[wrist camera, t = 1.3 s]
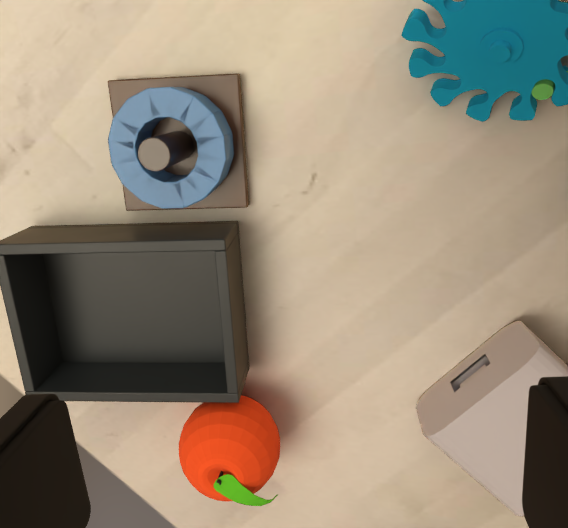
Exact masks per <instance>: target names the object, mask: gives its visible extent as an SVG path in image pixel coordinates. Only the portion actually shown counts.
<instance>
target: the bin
mask: <svg viewBox="0 0 568 528" xmlns="http://www.w3.org/2000/svg"><path fill="white" fill-rule="evenodd" d="M0 286H1V290H2V294H3V299H4V303H5V307H6V312H7V316H8V320H9V324H10V329H11V333H12V337H13V342H14V346H15V350H16V355H17V359H18V363H19V367H20V372H21V376H22V380H23V385H24V389H25V391H26V392H25V394H26V395H29V394H55V395H57V397H58V398H59V400H62V401H122V402H219V403H239V400H240V397H241V394H242V390H243V387H244V384H245V380H246V377H247V374H248V370H249V356H248V343H247V329H246V316H245V303H244V290H243V277H242V264H241V250H240V237H239V224H238V221H226V222H186V223H145V224H105V225H64V226H31V227H29V228H27V229H25V230H23V231H20V232H18V233H16V234H14V235H11V236H9V237H7V238H5V239H3V240H0Z"/></svg>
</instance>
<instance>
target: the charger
mask: <svg viewBox="0 0 568 528" xmlns="http://www.w3.org/2000/svg"><path fill="white" fill-rule="evenodd" d="M564 376H568V365H567V364H566V363H565V362H563V361H562V360H561V359H560V358H559V357H558V356H557V355H556V354H555V353H554V352H553V351H552V350H551V349H550V348H549V347H548V346H547V345H546V344H545V343H544V342H542V341H541V340H540V339H539V338H538V337H537V336H536V335H535V334H534V333H533V332H532V331H531V330H530V329H529V328H528V327H527V326H526V325H525V324H524V323H523V322H522V321H515V322H513V323H510V324H509V325H507V326H505V327H504V328H502V329H501V330H500V331H498V332H497V333H496V334H494V335H493V336H492V337H491V338H490V339H488V340H487V341H486V342H485V343H483V344H482V345H481V346H480V347H479V348H477V349H476V350H475V351H474V352H473V353H471V354H470V355H469V356H468V357H466V358H465V359H464V360H463V361H462V362H460V363H459V364H458V365H457V366H455V367H454V368H453V369H452V370H451V371H449V372H448V373H447V374H446V375H445V376H443V377H442V378H441V379H440V380H438V381H437V382H436V383H435V384H434V385H432V386H431V387H430V388H429V389H428V390H427V391H426V392H425V393H424V394H423V395H422V396H421V398H420V399H419V400H418V402H417V404H416V409H417V413H418V416H419V420H420V424H421V428H422V432H423V435H424V436H425V437H426V438H428V439H429V440H430V441H431V442H432V443H433V444H435V445H436V446H437V447H438V448H439V449H440V450H441V451H443V452H444V453H445V454H446V455H447V456H448V457H450V458H451V459H452V460H453V461H454V462H455V463H456V464H458V465H459V466H460V467H461V468H462V469H463V470H465V471H466V472H467V473H468V474H469V475H470V476H471V477H473V478H474V479H475V480H476V481H477V482H478V483H480V484H481V485H482V486H483V487H484V488H485V489H486V490H488V491H489V492H490V493H491V494H492V495H493V496H495V497H496V498H497V499H498V500H499V501H500V502H501V503H503V504H504V505H505V506H506V507H507V508H508V509H509V510H511V511H512V512H513V513H514V514H515V515H518V516H524V512H523V507H522V490H523V474H524V458H525V443H526V427H527V411H528V396H529V389H530V386H532V385H538V382H539V380H540V379H541V378H542V377H564Z"/></svg>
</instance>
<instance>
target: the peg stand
mask: <svg viewBox="0 0 568 528" xmlns="http://www.w3.org/2000/svg"><path fill="white" fill-rule="evenodd" d="M108 86H109V93H110V100H111V107H112V114H113V118H114V116H115V115H116V113H117V112H118V111H119V109H120V108H121V107H122V105H123V104H124V103H125V101H126V100H128V98H130V97H132V96H134V95H136V94H138V93H139V92H141V91H143V90H145V89H148V88H159V87H183V88H187V89H190V90H192V91H195V92H197V93H200V94H203V95H204V96H206V97H207V98H208V99H209V100H210V101H212V102H213V103H214V104H215V105H216V106H217V107H218V108H219V109H220V110H221V111H222V112H223V114H224V116H225V118H226V120H227V122H228V125H229V127H230V129H231V131H232V135H233V148H234V156H233V160H232V163H231V166H230V169H229V172H228V175H227V176H226V178H225V179H224V180H223V181H222V182H221V183H220V185H219V186H218V187H217V188H216V189H215V190H214V191H213V192H212V193H211V194H209V195H208V196H207V197H206V198H204V199H203V200H201V201H199V202H197V203H195V204H192V205H190V206H188V207H185V208H170V209H203V208H240V207H248V205H249V195H248V180H247V166H246V151H245V136H244V122H243V107H242V93H241V78H240V74H223V75H204V76H185V77H166V78H147V79H129V80H110V81H108ZM138 158H139V161H140V162H141V164H142V165H143V166H144V167H145V168H146V169H148V170H150V171H154V172H157V171H161V170H165V171H166V172H169V173H172V174H174V175H188V174H189V173H190V172H191V171H192V170H193V169H194V167H195V164H196V161H197V158H198V149H197V141H196V140H195V138H194V136H193V134H192V132H191V130H190V129H189V128H188V127H187V126H185V125H184V124H183V123H182V122H181V121H178V120H175V119H173V118H170V117H167V118H165V119H163V120H161V121H159V123H158V124H157V125H156V126H155V128H154V129H153V132H152V135H151V137H150V138H147V139H145V140H144V141H142V142H141V144H140V145H139V148H138ZM123 190H124V197H125V204H126V210H127V211H130V210H167V209H163V208H159V207H156V206H154V205H151V204H148V203H146V202H143V201H141V200H140V199H139V198H138V197H136V196H135V195H134V194H133V193H132V192H131V191H129V190H128V189H127V188H126V187H125V186H124V185H123Z"/></svg>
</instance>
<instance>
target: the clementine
mask: <svg viewBox="0 0 568 528" xmlns="http://www.w3.org/2000/svg"><path fill="white" fill-rule="evenodd" d="M279 455H280V437H279V432H278V428H277V426H276V424H275V422H274V420H273V418H272V417H271V415H270V413H269V412H268V411H267V410H266V409H265V408H264V407H263V406H262V405H261V404H260V403H258V402H257V401H255V400H253V399H252V398H249V397H246V396H243V395H241V397H240V400H239V403H219V402H204V403H203V404H201V405H200V406H199V407H197V408H196V409H195V410H194V412H193V413H192V414H191V416H190V417H189V419H188V420H187V421H186V423H185V424H184V427H183V430H182V433H181V437H180V441H179V457H180V463H181V466H182V469H183V472H184V474H185V476H186V477H187V479H188V480H189V482H190V483H191V484H192V485H193V486H194V487H195V488H196V489H197V490H198V491H199V492H200V493H202V494H204V495H205V496H207V497H209V498H212V499H215V500H220V501H235V502H237V503H241V504H244V505H251V506H262V505H265V504H267V503H270V502H271V501H272V500H274V498H275V497H276V496H277V495H278V494H277V495H276V496H275V497H274V498H273V499H272V500H265V499H263V498H260V497H258V496H256V495H254V493H255V492H257V491H258V490H260V489H261V488H262V487H263V486H264V485H265V483H266V482H267V481H268V480H269V479H270V477H271V476H272V475H273V472H274V470H275V468H276V465H277V462H278V459H279Z"/></svg>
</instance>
